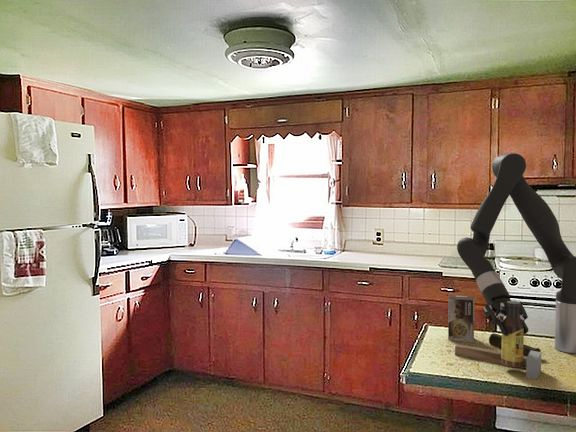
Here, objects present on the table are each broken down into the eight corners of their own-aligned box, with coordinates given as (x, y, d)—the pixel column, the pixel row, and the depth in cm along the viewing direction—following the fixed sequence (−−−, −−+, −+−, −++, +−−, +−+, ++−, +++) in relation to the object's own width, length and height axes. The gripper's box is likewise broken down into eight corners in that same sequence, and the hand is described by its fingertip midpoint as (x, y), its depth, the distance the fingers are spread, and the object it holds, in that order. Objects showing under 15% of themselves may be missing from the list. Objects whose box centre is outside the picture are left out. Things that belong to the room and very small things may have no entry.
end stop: (530, 368, 153) (530, 350, 153) (540, 370, 152) (541, 352, 151) (526, 377, 147) (526, 357, 146) (537, 379, 145) (537, 359, 145)
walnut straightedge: (457, 352, 169) (457, 344, 169) (529, 366, 156) (530, 357, 156) (454, 354, 167) (455, 346, 167) (528, 368, 154) (528, 359, 154)
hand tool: (541, 359, 163) (542, 345, 162) (533, 361, 161) (534, 347, 160) (494, 343, 179) (494, 331, 179) (486, 345, 177) (487, 332, 177)
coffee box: (474, 338, 185) (475, 296, 184) (473, 343, 179) (474, 300, 178) (449, 335, 188) (449, 294, 187) (447, 340, 183) (448, 297, 182)
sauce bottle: (519, 369, 148) (520, 306, 147) (498, 364, 152) (499, 302, 151) (525, 363, 153) (527, 301, 152) (505, 358, 157) (506, 298, 156)
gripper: (479, 283, 156) (503, 330, 146) (516, 280, 160) (543, 326, 150) (468, 295, 162) (491, 341, 151) (505, 293, 166) (529, 337, 155)
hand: (516, 333), depth 150 cm, fingers closed on sauce bottle, 6 cm apart
